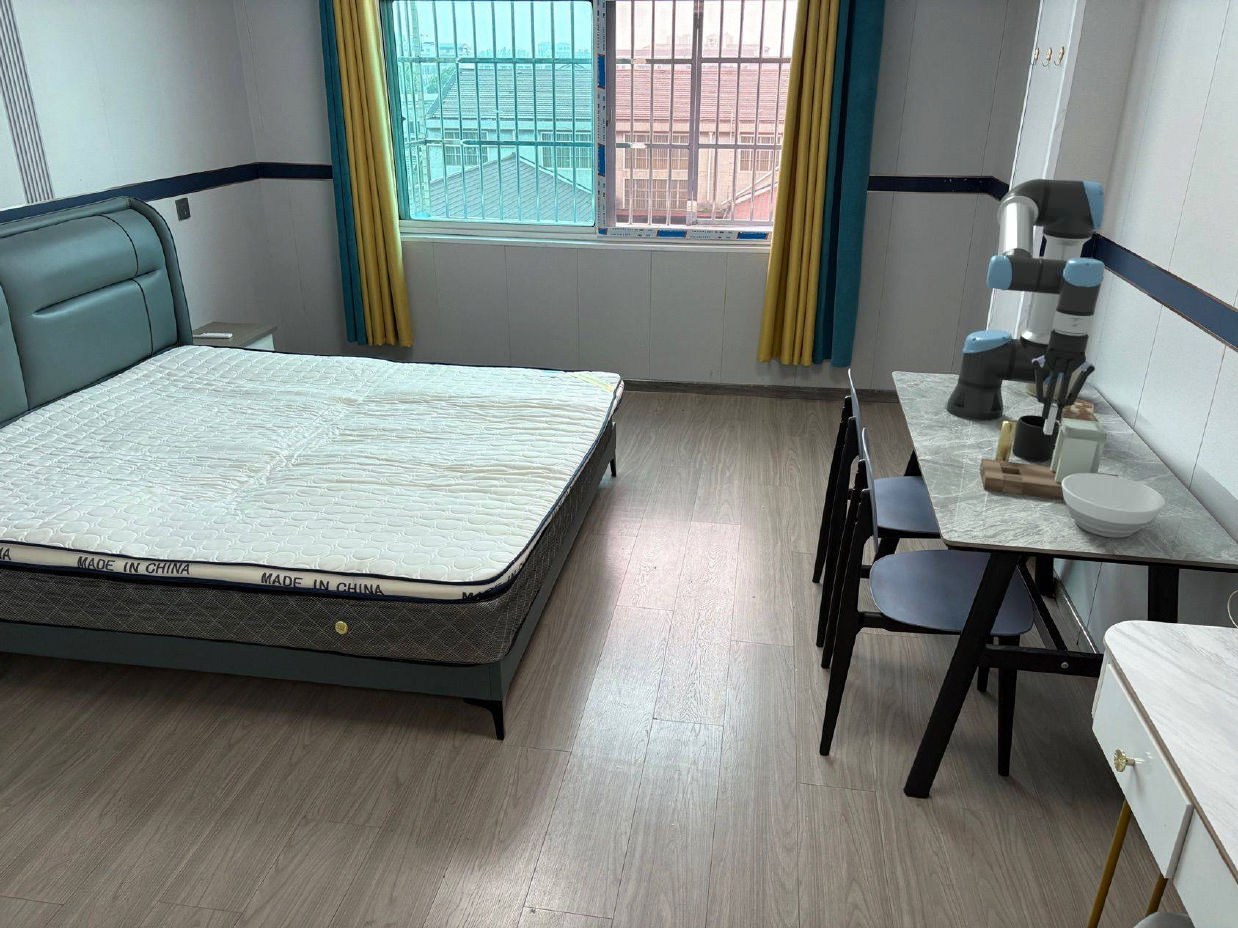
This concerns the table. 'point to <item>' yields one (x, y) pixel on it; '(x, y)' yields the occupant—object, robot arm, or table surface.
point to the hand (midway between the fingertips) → (1047, 432)
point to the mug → (1034, 439)
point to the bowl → (1110, 503)
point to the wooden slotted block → (1021, 478)
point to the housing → (1078, 448)
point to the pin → (1005, 440)
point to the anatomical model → (1079, 411)
